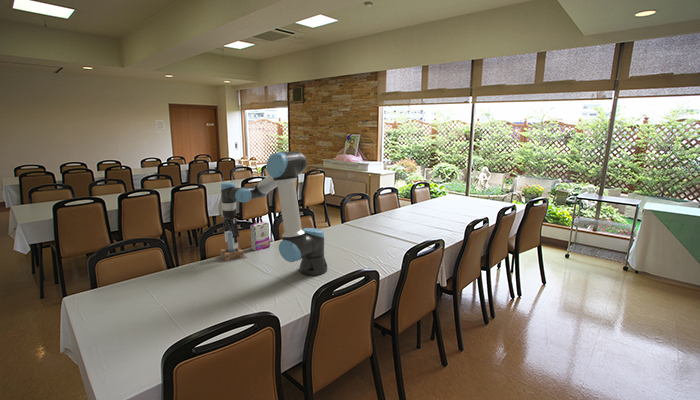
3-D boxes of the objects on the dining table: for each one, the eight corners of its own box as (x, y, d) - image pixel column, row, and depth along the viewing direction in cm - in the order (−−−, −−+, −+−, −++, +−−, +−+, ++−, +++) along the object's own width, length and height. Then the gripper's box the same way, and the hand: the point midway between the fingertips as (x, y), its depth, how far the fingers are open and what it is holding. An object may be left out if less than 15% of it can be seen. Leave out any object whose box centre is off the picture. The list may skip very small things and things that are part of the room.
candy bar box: (265, 245, 226) (264, 221, 223) (270, 246, 223) (269, 222, 220) (251, 249, 217) (249, 224, 214) (256, 251, 214) (254, 226, 211)
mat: (248, 258, 203) (248, 257, 203) (227, 262, 196) (227, 262, 196) (239, 251, 214) (239, 250, 214) (219, 255, 207) (219, 255, 207)
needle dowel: (236, 257, 204) (235, 231, 201) (230, 258, 202) (228, 232, 198) (234, 255, 207) (232, 230, 204) (227, 256, 205) (226, 231, 202)
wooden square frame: (243, 257, 204) (243, 251, 203) (226, 261, 197) (226, 254, 197) (237, 252, 211) (237, 246, 210) (220, 256, 205) (220, 249, 204)
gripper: (243, 212, 191) (245, 249, 195) (228, 204, 210) (230, 238, 215) (230, 214, 187) (232, 251, 191) (215, 206, 206) (218, 240, 210)
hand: (231, 244), depth 203 cm, fingers open, 13 cm apart
